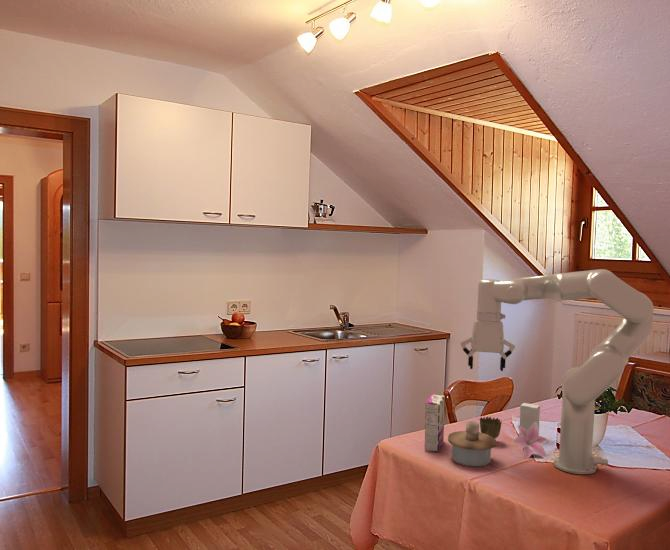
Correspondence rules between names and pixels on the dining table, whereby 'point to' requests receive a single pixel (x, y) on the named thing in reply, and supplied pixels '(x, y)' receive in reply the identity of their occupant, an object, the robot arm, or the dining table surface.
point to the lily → (531, 440)
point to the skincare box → (529, 415)
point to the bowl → (471, 456)
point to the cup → (490, 426)
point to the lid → (472, 438)
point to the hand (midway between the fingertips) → (486, 369)
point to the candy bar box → (434, 422)
